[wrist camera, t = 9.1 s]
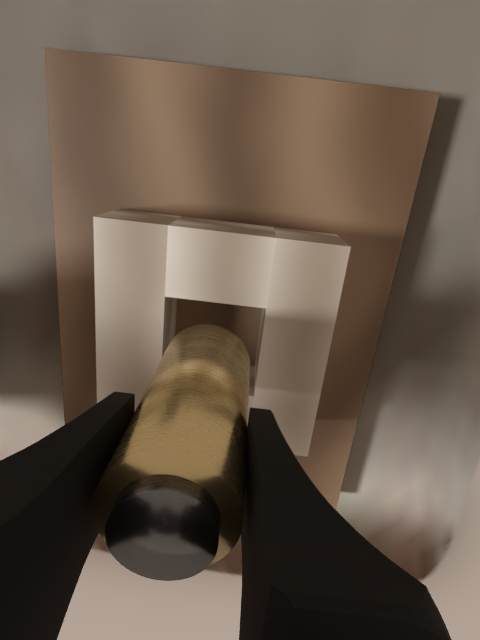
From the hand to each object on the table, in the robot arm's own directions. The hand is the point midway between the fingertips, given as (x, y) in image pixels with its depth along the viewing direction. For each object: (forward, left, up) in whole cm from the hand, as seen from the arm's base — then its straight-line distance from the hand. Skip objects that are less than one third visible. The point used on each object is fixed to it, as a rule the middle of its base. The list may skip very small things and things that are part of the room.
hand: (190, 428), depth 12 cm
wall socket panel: (0, 0, -10) cm, 10 cm away
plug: (0, 0, -4) cm, 4 cm away
